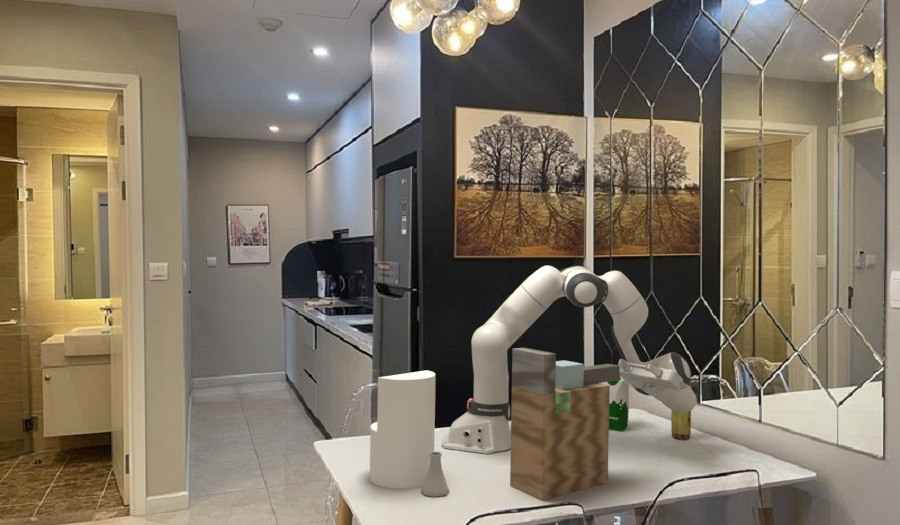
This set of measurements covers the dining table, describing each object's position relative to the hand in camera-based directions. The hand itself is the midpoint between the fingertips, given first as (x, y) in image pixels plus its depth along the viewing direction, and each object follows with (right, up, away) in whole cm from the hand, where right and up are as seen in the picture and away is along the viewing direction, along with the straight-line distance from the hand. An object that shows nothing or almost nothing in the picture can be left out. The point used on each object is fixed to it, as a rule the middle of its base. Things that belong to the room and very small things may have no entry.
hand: (633, 363), depth 188 cm
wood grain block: (-24, -29, -16) cm, 41 cm away
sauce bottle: (+25, -30, +31) cm, 50 cm away
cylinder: (-66, -29, -13) cm, 74 cm away
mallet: (-17, -3, -12) cm, 21 cm away
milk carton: (+5, -30, +42) cm, 52 cm away
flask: (-57, -29, -24) cm, 68 cm away
